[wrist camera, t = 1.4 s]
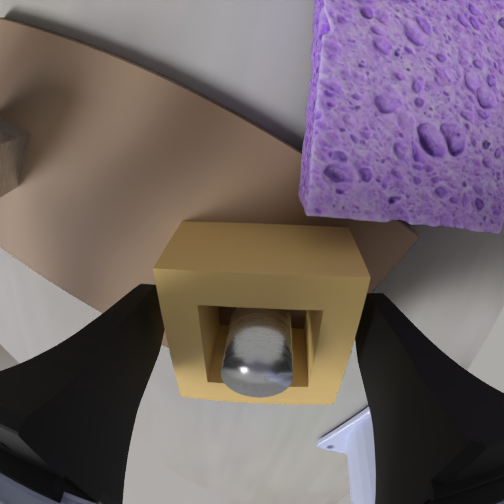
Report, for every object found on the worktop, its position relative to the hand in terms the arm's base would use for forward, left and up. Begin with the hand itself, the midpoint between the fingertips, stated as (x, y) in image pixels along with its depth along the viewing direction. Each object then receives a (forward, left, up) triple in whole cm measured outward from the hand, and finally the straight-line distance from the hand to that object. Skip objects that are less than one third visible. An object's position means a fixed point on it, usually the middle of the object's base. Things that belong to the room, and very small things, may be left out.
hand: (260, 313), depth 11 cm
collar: (0, 0, -1) cm, 1 cm away
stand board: (+6, 0, -2) cm, 6 cm away
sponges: (+1, -11, -2) cm, 11 cm away
